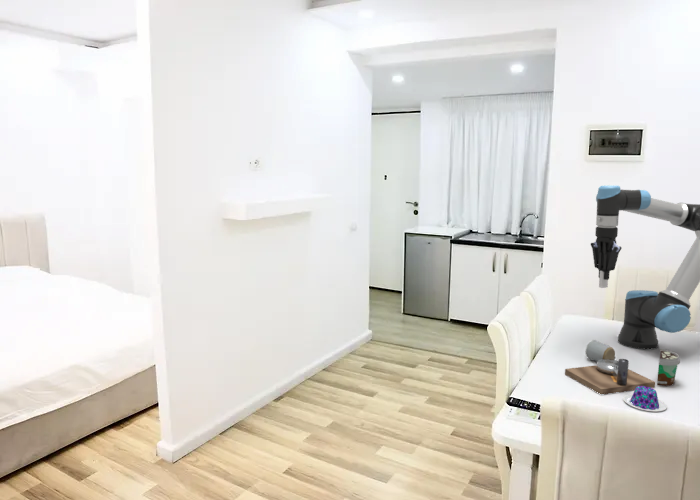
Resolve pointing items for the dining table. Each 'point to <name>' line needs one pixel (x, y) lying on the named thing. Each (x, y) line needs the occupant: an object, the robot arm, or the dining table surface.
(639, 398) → the pudding
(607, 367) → the steel serving spoon
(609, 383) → the wooden cutting board
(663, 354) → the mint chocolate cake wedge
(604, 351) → the ceramic mug
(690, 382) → the dining table surface
